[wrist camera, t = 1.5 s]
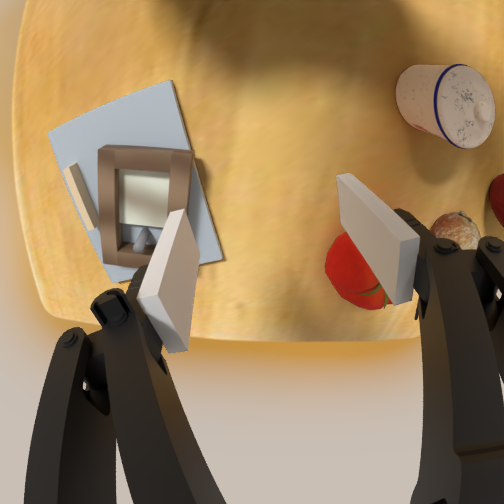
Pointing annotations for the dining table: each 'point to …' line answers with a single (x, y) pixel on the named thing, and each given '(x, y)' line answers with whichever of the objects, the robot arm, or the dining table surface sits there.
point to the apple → (498, 198)
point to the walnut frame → (139, 195)
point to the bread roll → (457, 230)
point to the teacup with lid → (447, 103)
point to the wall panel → (135, 134)
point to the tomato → (354, 275)
